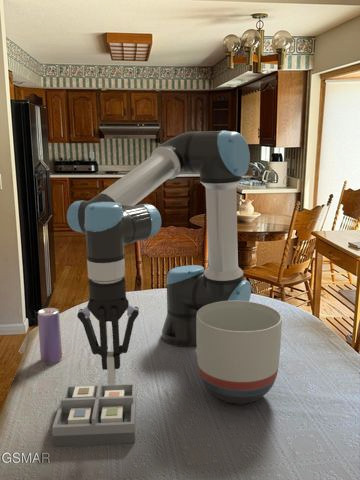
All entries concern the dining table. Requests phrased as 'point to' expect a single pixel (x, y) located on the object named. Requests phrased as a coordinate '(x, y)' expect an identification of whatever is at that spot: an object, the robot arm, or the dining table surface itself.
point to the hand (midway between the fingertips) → (112, 381)
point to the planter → (238, 349)
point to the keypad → (96, 417)
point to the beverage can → (49, 335)
